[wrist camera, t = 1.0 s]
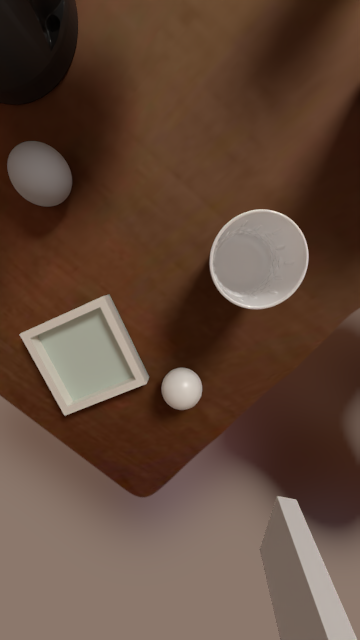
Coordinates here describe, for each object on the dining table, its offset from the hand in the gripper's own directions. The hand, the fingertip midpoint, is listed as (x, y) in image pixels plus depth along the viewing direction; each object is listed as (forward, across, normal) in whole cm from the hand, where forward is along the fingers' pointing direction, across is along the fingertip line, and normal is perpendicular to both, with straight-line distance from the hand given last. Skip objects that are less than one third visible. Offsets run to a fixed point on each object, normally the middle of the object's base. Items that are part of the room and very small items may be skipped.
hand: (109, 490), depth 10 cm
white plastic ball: (+23, +3, -5) cm, 24 cm away
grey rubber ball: (+23, -16, +16) cm, 32 cm away
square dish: (+23, -10, -4) cm, 25 cm away
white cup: (+23, +7, +10) cm, 26 cm away
